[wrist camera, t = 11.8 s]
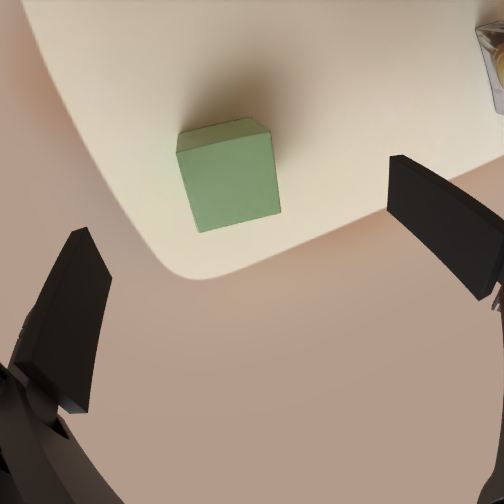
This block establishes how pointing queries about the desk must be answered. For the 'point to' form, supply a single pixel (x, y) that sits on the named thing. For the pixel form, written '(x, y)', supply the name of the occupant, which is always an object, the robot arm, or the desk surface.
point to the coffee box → (494, 59)
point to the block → (228, 173)
